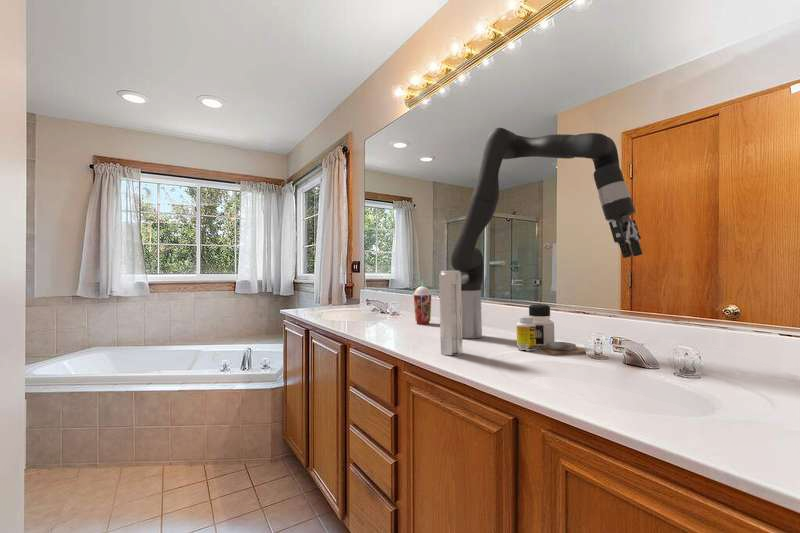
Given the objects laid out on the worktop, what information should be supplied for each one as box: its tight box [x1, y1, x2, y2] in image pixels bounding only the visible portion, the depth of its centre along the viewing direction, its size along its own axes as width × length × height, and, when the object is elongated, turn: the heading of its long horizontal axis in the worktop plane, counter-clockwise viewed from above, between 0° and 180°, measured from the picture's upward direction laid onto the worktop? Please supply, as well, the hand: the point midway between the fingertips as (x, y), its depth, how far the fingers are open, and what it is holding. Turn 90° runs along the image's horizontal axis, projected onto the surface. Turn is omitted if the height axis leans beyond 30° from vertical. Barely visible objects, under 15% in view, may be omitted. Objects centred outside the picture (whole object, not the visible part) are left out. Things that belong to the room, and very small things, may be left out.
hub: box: [537, 341, 587, 356], centre depth 117 cm, size 10×10×2 cm
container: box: [528, 303, 555, 347], centre depth 129 cm, size 8×8×13 cm
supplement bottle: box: [516, 315, 537, 352], centre depth 120 cm, size 6×6×10 cm
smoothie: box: [413, 279, 432, 326], centre depth 180 cm, size 8×8×20 cm
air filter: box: [438, 270, 464, 356], centre depth 117 cm, size 6×6×25 cm
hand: (633, 256), depth 108 cm, fingers open, 8 cm apart
